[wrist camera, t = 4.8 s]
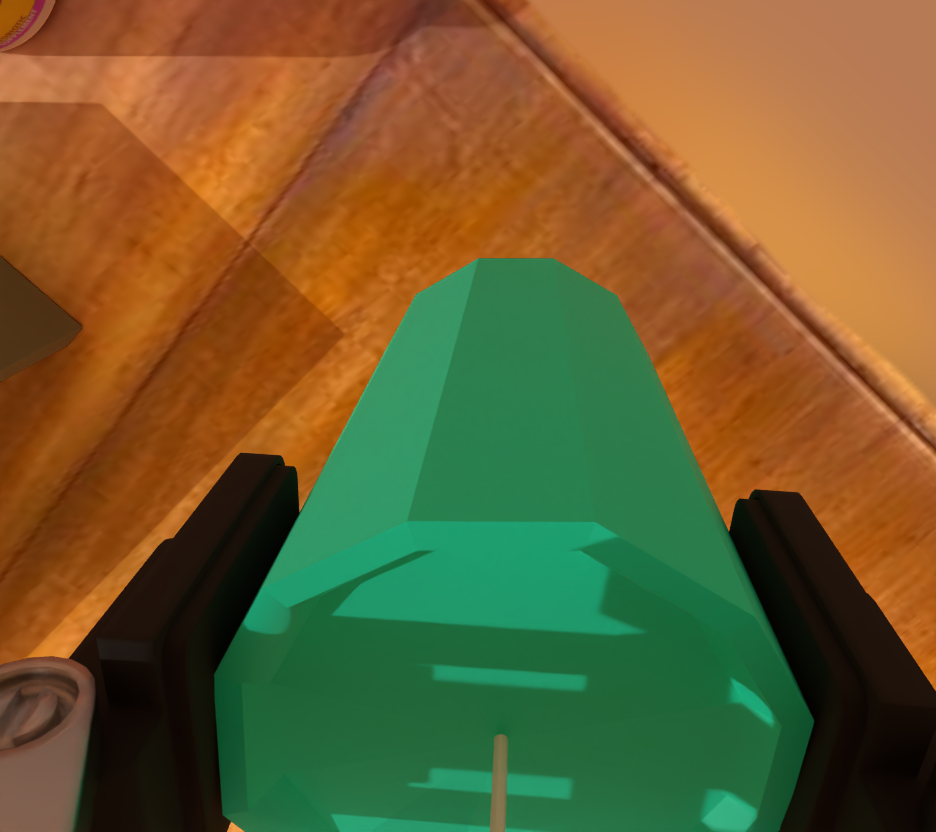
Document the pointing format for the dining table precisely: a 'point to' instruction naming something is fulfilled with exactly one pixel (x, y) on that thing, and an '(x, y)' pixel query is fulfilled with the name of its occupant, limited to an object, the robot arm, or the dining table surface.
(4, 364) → the shelf
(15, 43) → the supplement bottle
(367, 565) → the candle
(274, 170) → the dining table surface
